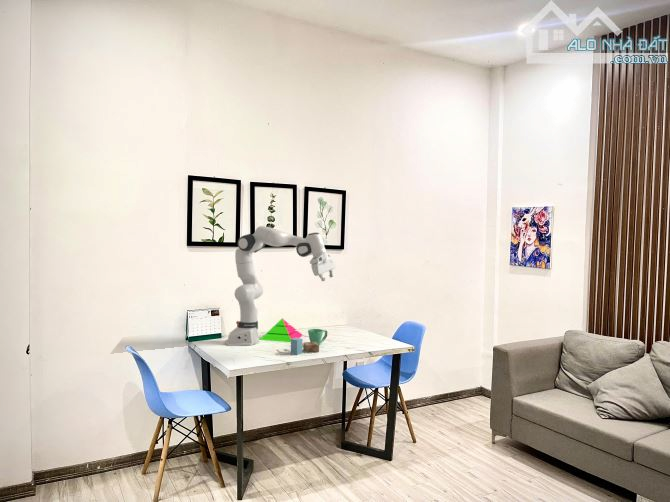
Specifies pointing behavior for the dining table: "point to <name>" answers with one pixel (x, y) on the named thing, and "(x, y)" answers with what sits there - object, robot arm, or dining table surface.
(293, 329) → the pyramid toy
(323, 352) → the dining table surface
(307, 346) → the base block
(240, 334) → the robot arm
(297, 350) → the teal brick
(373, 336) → the dining table surface
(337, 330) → the dining table surface
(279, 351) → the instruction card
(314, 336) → the mug
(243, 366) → the dining table surface
